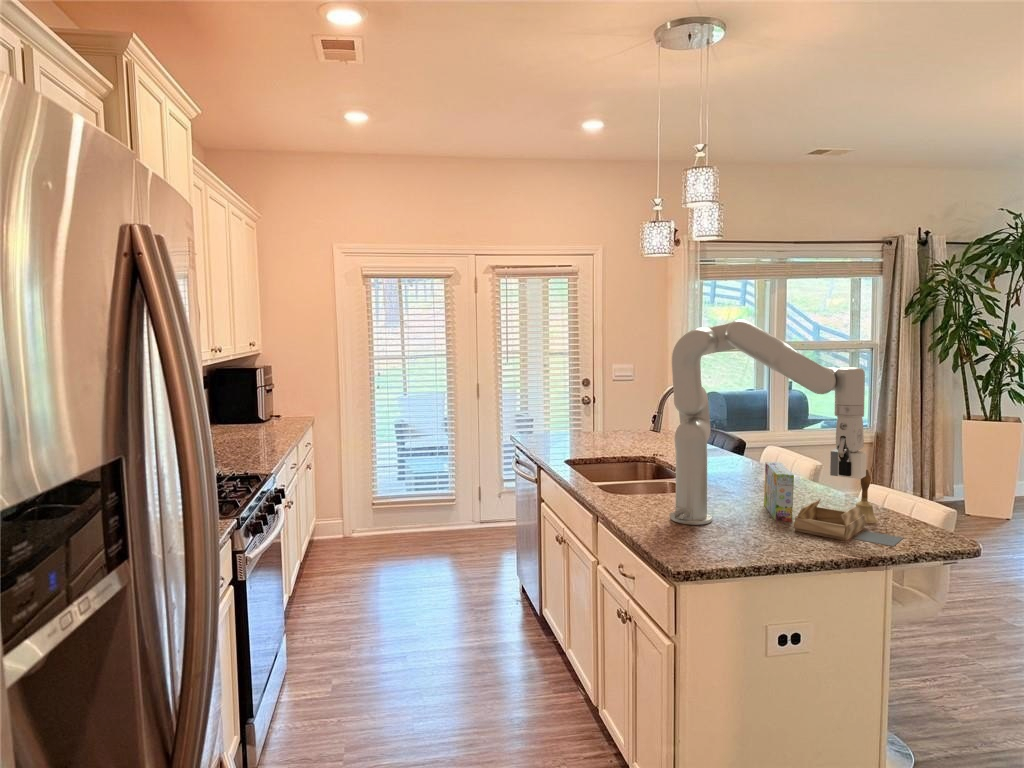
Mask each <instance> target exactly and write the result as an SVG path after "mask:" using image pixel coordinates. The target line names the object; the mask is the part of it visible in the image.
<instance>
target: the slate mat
mask: <svg viewBox="0 0 1024 768" xmlns="http://www.w3.org/2000/svg"><path fill="white" fill-rule="evenodd" d="M903 539H904V536H902V537H901V536H897V535H896V536H895V535H890V534H885V533H881V532H876V531H875V532H873V531H869V530H864V531H862V532H861V533H859V534H858V535H857V536H855V537H854V538H853V540H855V541H856V540H857V541H862V542H868V543H870V544H871V543H872V544H878V545H882V546H888V547H896V545H898V544H899V543H900V542H901V541H902V540H903Z"/></svg>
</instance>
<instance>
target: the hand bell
mask: <svg viewBox="0 0 1024 768" xmlns="http://www.w3.org/2000/svg"><path fill="white" fill-rule="evenodd" d="M870 483H871V476H870V473H869V469H866V476H865V477H863V478H862V479H860V487H861V498H860V499H861V500H860V501H858V502H856V504H855V507H856V506H857V505H859V507H860V509H861V512H862V514H864V515H865V523H864V524H877V523H879V522H880V521H879V519H878V518H877V517H876V515H875V513H874V508H873V506H874V505H873V504H872V503H871V502H869V501H868V499H869V498H868V497H869V495H868V494H869V493H868V491H869V488H870Z"/></svg>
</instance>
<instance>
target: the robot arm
mask: <svg viewBox="0 0 1024 768" xmlns="http://www.w3.org/2000/svg"><path fill="white" fill-rule="evenodd" d="M731 350H738V351H740V352H742V353H743V354H745V355H747V356H748V357H751V358H752V359H754V360H756V361H757V362H759V363H760V364H762V365H764V366H766V367H768V368H770V369H771V370H773V371H775V372H777V373H779V374H780V375H783V376H784V377H786V378H788V379H789V380H791V381H793V382H794V383H797V384H798V385H799V386H801V387H803V388H805V389H807V390H808V391H810V392H812V393H813V394H816V395H826V394H828V393H830V392H832V391H833V392H834V416H835V417H837V418H836V428H835V429H836V430H835V449H837V450H838V454H839V475H843V476H851V462H850V458H851V451H852V452H856V451H861V450H863V448H864V443H865V442H864V441H865V437H864V421H863V418H864V417H865V392H866V391H865V388H866V387H865V386H866V385H865V382H866V381H865V380H866V374H865V370H864V369H863V368H861V367H856V366H855V367H852V366H851V367H849V366H847V367H846V366H845V367H830V366H822V365H821V364H820V363H818V362H815V361H814V360H813V359H811V358H808V357H806V356H805V355H803V354H802V353H800V352H798V351H797V350H795V348H793V347H792V346H791V345H790V344H788V343H787V342H785V341H783V340H782V339H780V338H778V337H776V336H775V335H772V334H770V333H769V332H767V331H766V330H764V329H762V328H760V327H759V326H757V325H755V324H753V323H751V322H750V321H748V320H746V319H736V320H733V321H730V322H728V323H723V324H718V325H712V326H708V327H697V328H694V329H692V330H690V331H688V332H687V333H684V334H683V335H682V336H681V337H680V338H679V339H678V340H677V342H676V344H675V346H674V348H673V350H672V353H671V373H672V374H671V375H672V387H673V390H672V391H673V403H674V407H675V409H676V410H677V411H678V414H679V425H678V426H677V427H676V430H675V434H674V449H675V507H674V508H675V509H674V511H672V512H671V513H669V518H670V520H671V521H673V522H676V523H678V524H683V525H690V526H694V525H695V526H700V525H708V524H710V523H711V522H713V516H712V515H710V514H709V513H708V440H709V439H710V436H711V428H712V427H711V420H710V419H711V418H710V404H709V398H708V393H707V391H706V389H705V388H704V387H703V386H702V376H701V375H702V374H701V365H700V361H701V358H702V357H703V356H706V355H711V354H716V353H721V352H725V351H731ZM845 450H849V451H845ZM845 453H848V455H846V454H845Z"/></svg>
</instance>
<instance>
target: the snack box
mask: <svg viewBox="0 0 1024 768" xmlns="http://www.w3.org/2000/svg"><path fill="white" fill-rule="evenodd" d="M764 465H765V467H764V498H763V499H764V500H763V506H765V509H766V510H767V512H768V513H769V514H770V515H771V516H772V519H774V521H776V522H793V507H794V506H793V505H794V486H795V485H794V484H795V482H794V481H795V475H794V474H793V473H792V472H791V471H790V470H789V469H788V468H787V467H786V466H785V465H784V464H783V463H782V462H777V461H776V462H774V461H771V462H770V461H768V462H767V461H766V462H765V464H764Z"/></svg>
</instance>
